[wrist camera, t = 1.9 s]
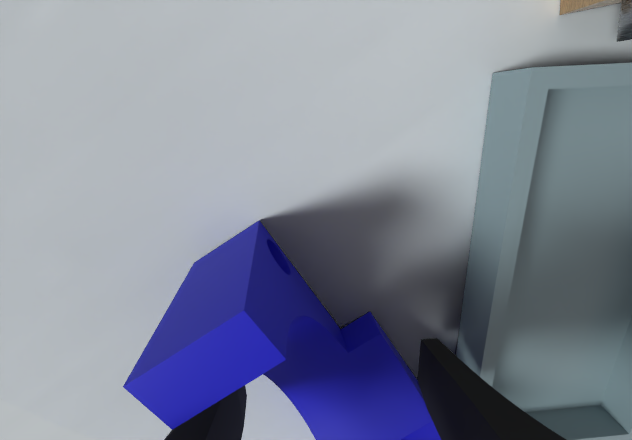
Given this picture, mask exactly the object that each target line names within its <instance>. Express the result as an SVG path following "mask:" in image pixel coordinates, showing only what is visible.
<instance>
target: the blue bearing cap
mask: <svg viewBox="0 0 632 440" xmlns="http://www.w3.org/2000/svg"><path fill="white" fill-rule="evenodd" d="M262 374H264V375H265V376H267V377H268V378H269V379H270V380H272V381H273V382H274V383H275V384H276V385H277V386H278V387H279V388H280V389H281V390H282V391H283V392H284V393H285V394H286V395H287V397H288V398H289V399H290V400H291V402H292V403H293V404H294V406H295V407H296V408H297V410H298V411H299V413H300V414H301V415H302V417H303V419H304V420H305V422H306V423H307V425H308V427H309V428H310V430H311V432H312V434H313V435H314V437H315V439H316V440H441V438H440V436H439V434H438V432H437V429H436V427H435V425H434V423H433V421H432V419H431V416H430V414H429V412H428V410H427V407H426V404H425V401H424V399H423V396H422V393H421V389H420V386H419V383H418V381H417V379H416V378H415V376H414V375H413V373H412V372H411V370H410V369H409V367H408V366H407V365H406V363H405V362H404V360H403V359H402V357H401V356H400V354H399V353H398V351H397V350H396V348H395V347H394V346H393V344H392V343H391V341H390V340H389V338H388V337H387V335H386V334H385V332H384V331H383V330H382V328H381V327H380V325H379V324H378V322H377V321H376V319H375V318H374V316H373V315H372V313H371V312H368V313H367V314H365V315H363V316H362V317H360V318H358V319H357V320H355V321H353V322H352V323H350V324H349V325H347V326H345V327H344V328H342V329H340V328H339V327H338V325H337V324H336V323H335V321H334V320H333V319H332V317H331V316H330V315H329V313H328V312H327V311H326V309H325V308H324V306H323V305H322V304H321V302H320V301H319V300H318V298H317V297H316V296H315V294H314V293H313V292H312V290H311V289H310V288H309V286H308V285H307V284H306V282H305V281H304V280H303V278H302V277H301V276H300V274H299V273H298V272H297V270H296V269H295V268H294V266H293V265H292V264H291V262H290V261H289V260H288V258H287V257H286V255H285V254H284V253H283V251H282V250H281V249H280V247H279V246H278V245H277V243H276V242H275V241H274V239H273V238H272V237H271V235H270V234H269V233H268V231H267V230H266V229H265V227H264V226H263V225H262V223H261V222H260V221H258V222H256V223H254V224H253V225H251V226H250V227H248V228H247V229H245V230H244V231H242V232H241V233H239V234H238V235H236V236H235V237H233V238H232V239H230V240H228V241H227V242H225V243H224V244H222V245H221V246H219V247H218V248H216V249H215V250H213V251H212V252H210V253H209V254H207V255H205V256H204V257H202V258H201V259H199V260H198V261H196V262H195V263H194V264H193V266H192V268H191V269H190V271H189V273H188V275H187V276H186V278H185V280H184V282H183V283H182V285H181V287H180V288H179V290H178V292H177V294H176V295H175V297H174V299H173V301H172V302H171V304H170V306H169V308H168V309H167V311H166V313H165V315H164V316H163V318H162V320H161V322H160V323H159V325H158V327H157V329H156V330H155V332H154V334H153V335H152V337H151V339H150V341H149V342H148V344H147V346H146V348H145V349H144V351H143V353H142V355H141V356H140V358H139V360H138V362H137V363H136V365H135V367H134V369H133V370H132V372H131V374H130V375H129V377H128V379H127V381H126V382H125V384H124V386H123V387H124V388H125V389H126V390H127V391H128V392H130V393H131V394H132V395H133V396H134V397H135V398H136V399H138V400H139V401H140V402H141V403H142V404H143V405H144V406H146V407H147V408H148V409H149V410H150V411H151V412H153V413H154V414H155V415H156V416H157V417H158V418H159V419H161V420H162V421H163V422H164V423H165V424H166V425H167V426H169V427H170V428H171V429H174V428H176V427H177V426H179V425H181V424H182V423H184V422H186V421H187V420H189V419H190V418H192V417H194V416H195V415H197V414H199V413H200V412H202V411H203V410H205V409H207V408H208V407H210V406H212V405H213V404H215V403H216V402H218V401H220V400H221V399H223V398H225V397H226V396H228V395H229V394H231V393H233V392H234V391H236V390H238V389H239V388H241V387H242V386H244V385H246V384H247V383H249V382H251V381H252V380H254V379H256V378H257V377H259V376H260V375H262Z"/></svg>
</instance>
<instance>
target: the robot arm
mask: <svg viewBox="0 0 632 440" xmlns="http://www.w3.org/2000/svg"><path fill="white" fill-rule="evenodd" d="M418 383H419V386H420V389H421V393H422V396H423V399H424V401H425V404H426V407H427V410H428V412H429V414H430V416H431V419H432V421H433V423H434V425H435V427H436V429H437V432H438V434H439V436H440V438H441V440H567V439H565V438H563V437H562V436H560V435H558V434H557V433H555V432H554V431H552V430H551V429H549V428H547V427H546V426H544V425H543V424H542V423H540V422H539V421H537V420H536V419H534V418H533V417H531V416H530V415H528V414H527V413H526V412H524V411H523V410H521V409H520V408H519V407H517V406H516V405H515V404H513V403H512V402H511V401H509V400H508V399H507V398H505V397H504V396H503V395H502V394H500V393H499V392H498V391H496V390H495V389H494V388H493V387H491V386H490V385H489V384H488V383H487V382H485V381H484V380H483V379H482V378H481V377H480V376H478V375H477V374H476V373H475V372H474V371H473V370H471V369H470V368H469V367H468V366H467V365H466V364H465V363H463V362H462V361H461V360H460V359H459V358H458V357H457V356H456V355H455V354H454V353H452V352H451V351H450V350H449V349H448V348H447V347H446V346H445V345H444V344H443V343H441V342H440V341H439V340H438V339H437V338H435V339H423V340H421V346H420V358H419V371H418ZM246 398H247V395H246V389H245V385H244V386H242V387H241V388H239V389H238V390H236V391H234V392H233V393H231V394H229V395H228V396H226V397H225V398H223V399H221V400H220V401H218V402H216V403H215V404H213V405H212V406H210V407H208V408H207V409H205V410H203V411H202V412H200V413H199V414H197V415H195V416H194V417H192V418H190V419H189V420H187V421H186V422H184V423H182V424H181V425H179V426H177V427H176V428H174V429H172V431H171V432H170V433H169V435H168V436H167V437H166V438H165V439H164V440H241V437H242V432H243V427H244V419H245V409H246Z"/></svg>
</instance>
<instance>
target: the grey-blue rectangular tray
mask: <svg viewBox="0 0 632 440" xmlns="http://www.w3.org/2000/svg"><path fill="white" fill-rule="evenodd" d="M456 356H457V357H458V358H459V359H460V360H461V361H462V362H463V363H465V364H466V365H467V366H468V367H469V368H470V369H471V370H473V371H474V372H475V373H476V374H477V375H478V376H480V377H481V378H482V379H483V380H484V381H485V382H487V383H488V384H489V385H490V386H491V387H493V388H494V389H495V390H496V391H498V392H499V393H500V394H502V395H503V396H504V397H505V398H507V399H508V400H509V401H511V402H512V403H513V404H515V405H516V406H517V407H519V408H520V409H521V410H523V411H524V412H526V413H527V414H528V415H530V416H531V417H533V418H534V419H536V420H537V421H539V422H540V423H542V424H543V425H544V426H546V427H547V428H549V429H551V430H552V431H554V432H555V433H557V434H558V435H560V436H562V437H563V438H565V439H567V440H632V63H613V64H593V65H572V66H551V67H531V68H524V69H517V70H511V71H504V72H497V73H493V75H492V83H491V91H490V98H489V106H488V114H487V121H486V129H485V137H484V144H483V152H482V160H481V167H480V175H479V183H478V190H477V198H476V206H475V213H474V221H473V228H472V236H471V244H470V251H469V259H468V267H467V274H466V282H465V290H464V297H463V305H462V313H461V320H460V328H459V336H458V343H457V351H456Z"/></svg>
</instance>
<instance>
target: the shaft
mask: <svg viewBox="0 0 632 440" xmlns="http://www.w3.org/2000/svg"><path fill="white" fill-rule="evenodd" d="M617 3H621V10H620V18H619V26H618V34H617V42H618V41H624V40H629V39H632V0H561V3H560V15H563V14H568V13H573V12H578V11H583V10H588V9H592V8H597V7H602V6H607V5H612V4H617Z"/></svg>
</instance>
